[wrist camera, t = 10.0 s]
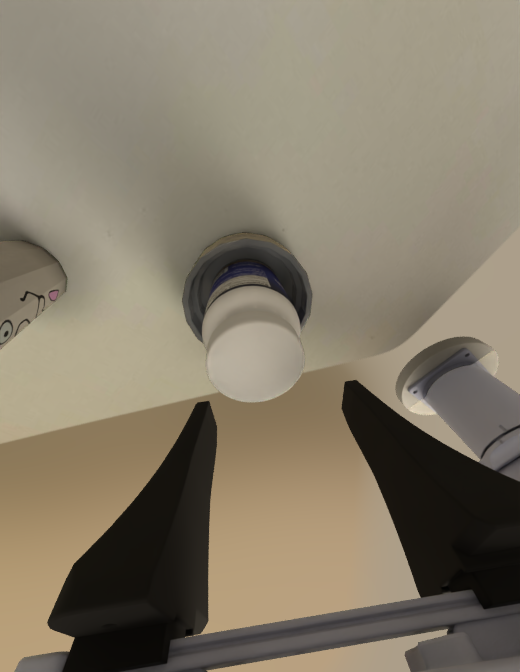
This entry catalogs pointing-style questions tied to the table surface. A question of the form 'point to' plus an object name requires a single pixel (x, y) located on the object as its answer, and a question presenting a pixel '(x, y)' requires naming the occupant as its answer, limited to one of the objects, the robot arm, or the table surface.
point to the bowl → (242, 249)
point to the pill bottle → (251, 334)
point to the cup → (26, 285)
